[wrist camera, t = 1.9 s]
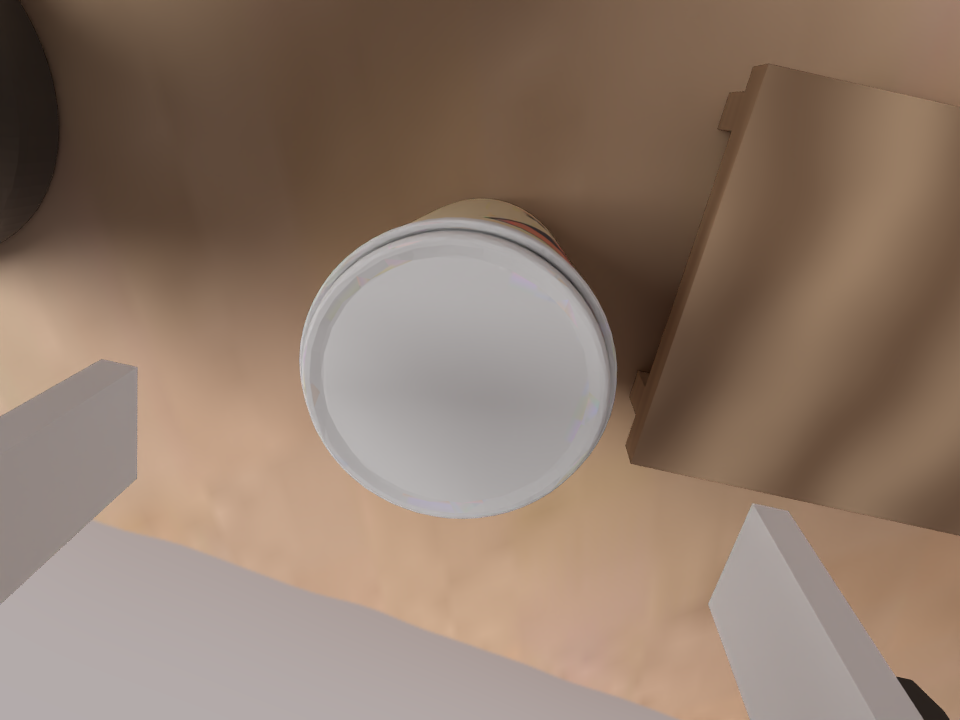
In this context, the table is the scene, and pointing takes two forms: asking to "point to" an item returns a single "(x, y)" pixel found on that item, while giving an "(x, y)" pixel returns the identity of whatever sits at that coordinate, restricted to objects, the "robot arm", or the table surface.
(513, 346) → the coffee cup
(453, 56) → the table surface
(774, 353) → the footstool
